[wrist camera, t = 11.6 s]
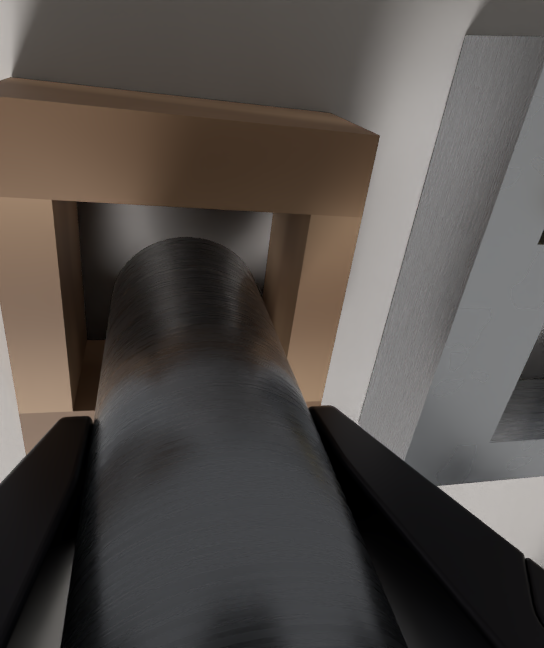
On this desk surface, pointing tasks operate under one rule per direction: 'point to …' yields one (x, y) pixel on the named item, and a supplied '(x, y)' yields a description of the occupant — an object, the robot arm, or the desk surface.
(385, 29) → the desk surface
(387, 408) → the socket
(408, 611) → the robot arm
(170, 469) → the peg
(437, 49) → the desk surface
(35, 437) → the brown square tray
